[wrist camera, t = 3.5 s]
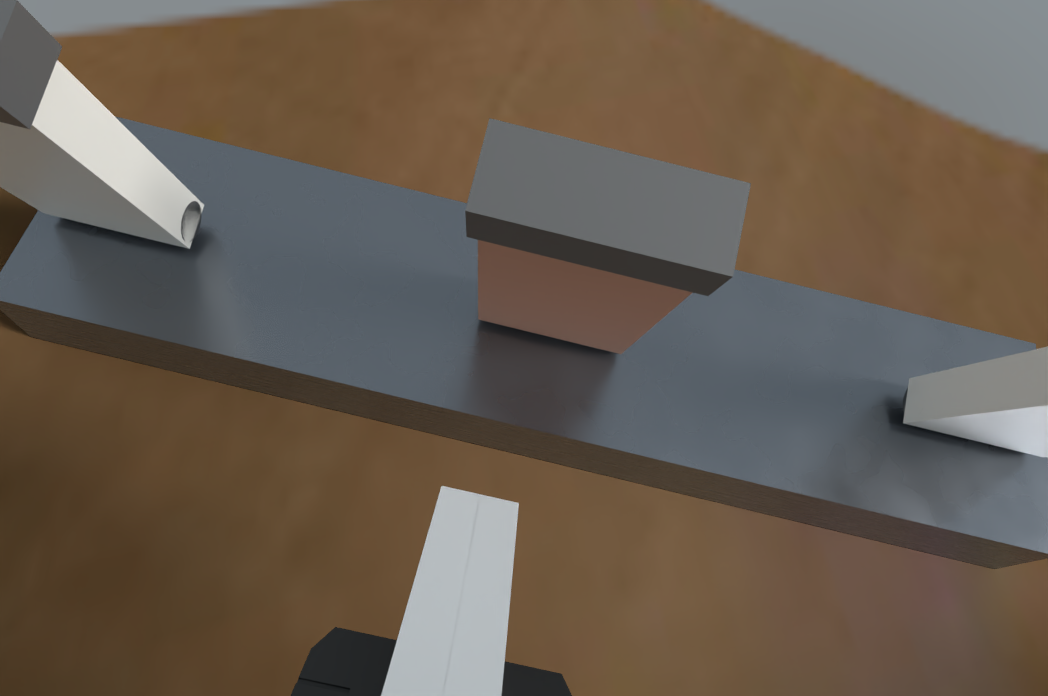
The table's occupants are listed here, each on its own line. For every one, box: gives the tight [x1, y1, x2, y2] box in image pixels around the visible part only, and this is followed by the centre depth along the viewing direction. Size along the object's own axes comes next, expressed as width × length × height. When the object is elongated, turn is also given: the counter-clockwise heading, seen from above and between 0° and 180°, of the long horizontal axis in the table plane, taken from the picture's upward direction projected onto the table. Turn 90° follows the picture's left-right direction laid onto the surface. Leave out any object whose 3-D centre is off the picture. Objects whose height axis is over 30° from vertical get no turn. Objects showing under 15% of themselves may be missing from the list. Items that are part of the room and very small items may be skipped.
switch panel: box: [0, 117, 1048, 569], centre depth 27 cm, size 8×36×3 cm, turn 78°
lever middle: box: [465, 119, 751, 354], centre depth 20 cm, size 2×5×11 cm, turn 77°
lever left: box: [0, 0, 204, 249], centre depth 20 cm, size 2×5×11 cm, turn 78°
